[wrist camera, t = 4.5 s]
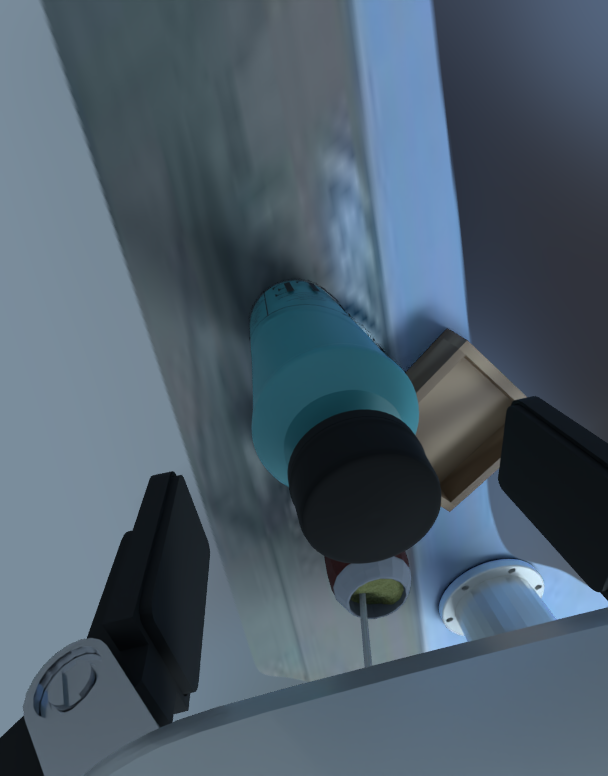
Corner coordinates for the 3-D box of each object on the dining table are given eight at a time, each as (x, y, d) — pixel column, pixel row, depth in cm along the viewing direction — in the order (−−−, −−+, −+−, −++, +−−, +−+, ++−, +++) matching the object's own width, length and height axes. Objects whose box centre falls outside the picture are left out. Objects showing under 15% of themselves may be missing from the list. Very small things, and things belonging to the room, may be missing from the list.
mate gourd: (383, 488, 36) (464, 656, 22) (390, 545, 39) (464, 720, 26) (307, 507, 36) (343, 689, 22) (321, 563, 39) (360, 748, 26)
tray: (527, 404, 34) (552, 421, 31) (434, 489, 37) (449, 512, 34) (447, 328, 30) (467, 340, 27) (349, 432, 32) (358, 452, 30)
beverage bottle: (265, 371, 29) (295, 634, 11) (232, 289, 26) (201, 466, 8) (345, 344, 29) (505, 564, 11) (322, 258, 26) (487, 368, 8)
